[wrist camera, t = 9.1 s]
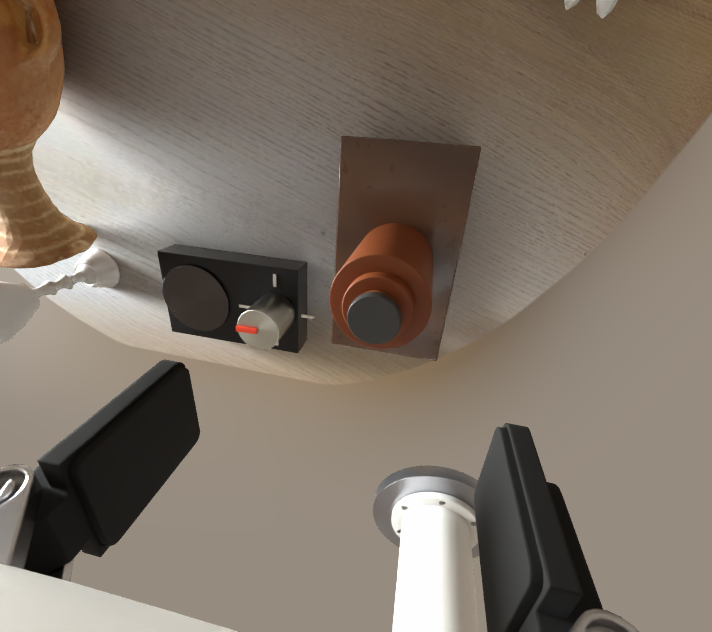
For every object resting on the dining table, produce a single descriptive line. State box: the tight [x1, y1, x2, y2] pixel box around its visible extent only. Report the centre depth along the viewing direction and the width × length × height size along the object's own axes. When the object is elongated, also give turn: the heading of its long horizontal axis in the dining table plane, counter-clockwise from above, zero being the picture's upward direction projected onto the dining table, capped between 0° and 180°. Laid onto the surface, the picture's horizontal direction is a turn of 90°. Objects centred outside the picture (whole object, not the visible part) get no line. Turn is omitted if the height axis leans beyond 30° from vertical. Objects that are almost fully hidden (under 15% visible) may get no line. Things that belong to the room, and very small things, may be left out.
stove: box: [157, 244, 314, 353], centre depth 40 cm, size 10×18×3 cm, turn 86°
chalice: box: [0, 249, 120, 344], centre depth 36 cm, size 7×7×18 cm
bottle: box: [329, 223, 433, 349], centre depth 22 cm, size 6×6×10 cm
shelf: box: [332, 136, 481, 361], centre depth 31 cm, size 16×9×10 cm, turn 176°
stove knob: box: [236, 293, 295, 350], centre depth 36 cm, size 4×4×5 cm
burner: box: [163, 264, 230, 331], centre depth 40 cm, size 8×8×1 cm
